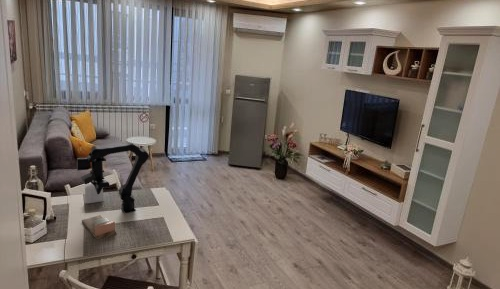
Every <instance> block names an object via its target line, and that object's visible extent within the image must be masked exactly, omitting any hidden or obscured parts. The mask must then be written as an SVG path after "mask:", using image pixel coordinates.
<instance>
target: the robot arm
mask: <svg viewBox="0 0 500 289" xmlns="http://www.w3.org/2000/svg"><path fill="white" fill-rule="evenodd" d="M124 152H132V153H133V154H135V157H134V158H135V159H134V163H133V166H132V167H131V170H130V172H129V175H128V177H127V179H126V181H125V184H121V185H120V187H119V189H118V195H119V197H120V199H121V210H122V212H124V213H126V214H127V213H131V212H134V211H136V210H137V209H136V208H135V198H134V196H133V194H132V193H133V186H134V185H135V181H136V180H137V177H138V175H139V173H140V170H141V168H142V166H143V165H144V164H145V163H146V162H147V161H148V159H149V153H148V152H147V151H146V149H144V148H140V147H138V146H137V145H135V144H134V143H132V142H128V143H122V144H115V145H109V146H105V145H94V146H92V147H91V149H90V152H89V153H88V155H87V156H86V157H78V158H76V171H87V170H89V173H87V174H84V175H83V176H81V177H80V179H81V181H82V183H83V184H84V185H88V184H91V183H92V184H93V185H94V186H95V189H96V192H97V194H100V192H101V190H102V188H103V189H104V188H105V189H106V188H109V187H111V186H110V185H111V184H110V182H109V181H108V180H106V179H105V176H104V173H105V170H104V168H103V165H104V164H103V162H106V161H107V158H106V156H108V155H113V154H119V153H124ZM90 168H91V169H90Z"/></svg>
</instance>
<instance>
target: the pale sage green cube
mask: <svg viewBox="0 0 500 289" xmlns="http://www.w3.org/2000/svg"><path fill="white" fill-rule="evenodd" d="M107 222H111V221H110V220H109V219H108V218H107V217H102V218H101V219H97V220H94V223H95V226H97V225H100V224H104V223H107Z"/></svg>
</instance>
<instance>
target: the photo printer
mask: <svg viewBox="0 0 500 289" xmlns="http://www.w3.org/2000/svg"><path fill="white" fill-rule="evenodd" d="M84 194H85V196H84V198H85V204H93V203H100V202H101V203H102V202H103V201H104V188H102V190H101V192H100V194H97V192H96V189H95V186H94V185H93V184H92V183H91V182H90V183H88V184H85V188H84Z"/></svg>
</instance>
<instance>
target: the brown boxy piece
mask: <svg viewBox="0 0 500 289" xmlns="http://www.w3.org/2000/svg"><path fill="white" fill-rule="evenodd" d="M101 218H103V217H102V216H101V214H100V215H96V216H92V217H89V218H84V219H82V220H81V223H82V224H83V226H84V227H85V226H86V227H87V228H86V227H85V228H86V229H87V230H88V231H89V233H91V235H93V237H94V238H95V239H96V240H102V239H106V238H107V237H111V236H114V235H117V230H116V222H115V220H111V221H110V222H107V223H104V224H100V225H97V226H95V223H94V220H97V219H101Z"/></svg>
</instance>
